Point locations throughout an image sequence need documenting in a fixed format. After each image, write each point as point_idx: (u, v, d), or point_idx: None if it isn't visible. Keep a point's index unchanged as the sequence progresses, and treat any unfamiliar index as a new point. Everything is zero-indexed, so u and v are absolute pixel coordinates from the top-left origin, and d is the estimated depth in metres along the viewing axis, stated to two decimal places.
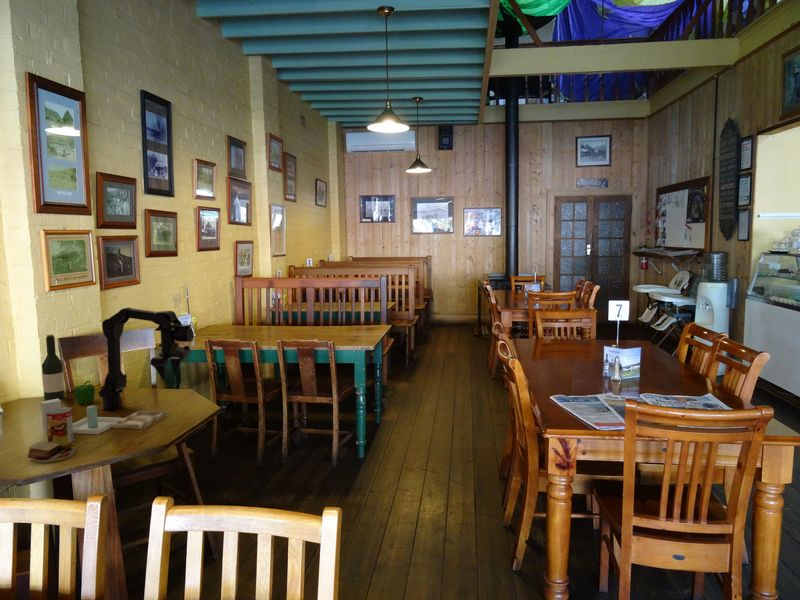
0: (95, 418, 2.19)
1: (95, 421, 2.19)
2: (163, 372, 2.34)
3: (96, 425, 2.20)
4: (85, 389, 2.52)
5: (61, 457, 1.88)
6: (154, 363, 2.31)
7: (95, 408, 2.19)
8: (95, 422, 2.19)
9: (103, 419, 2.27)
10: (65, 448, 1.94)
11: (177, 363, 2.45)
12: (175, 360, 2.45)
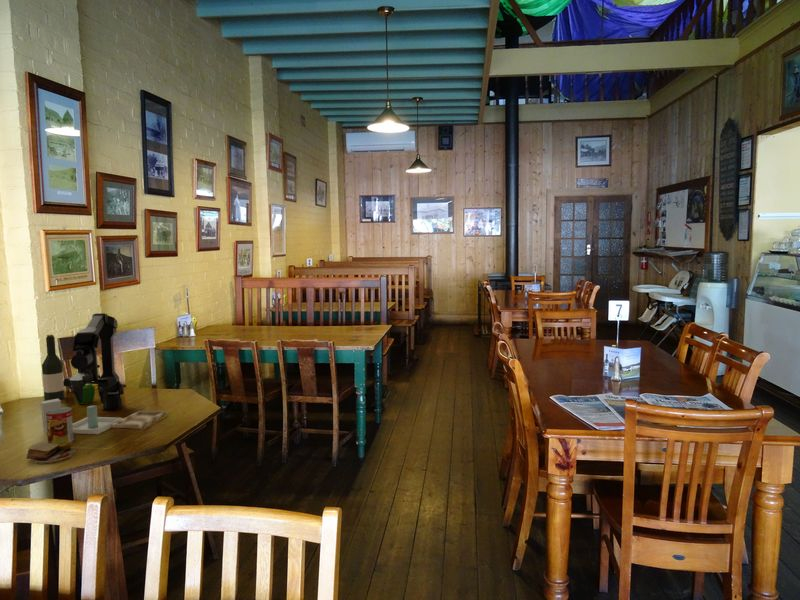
0: (95, 418, 2.19)
1: (95, 421, 2.19)
2: None
3: (96, 425, 2.20)
4: (85, 389, 2.52)
5: (61, 458, 1.87)
6: None
7: (95, 408, 2.19)
8: (95, 422, 2.19)
9: (103, 419, 2.27)
10: (64, 449, 1.94)
11: None
12: None
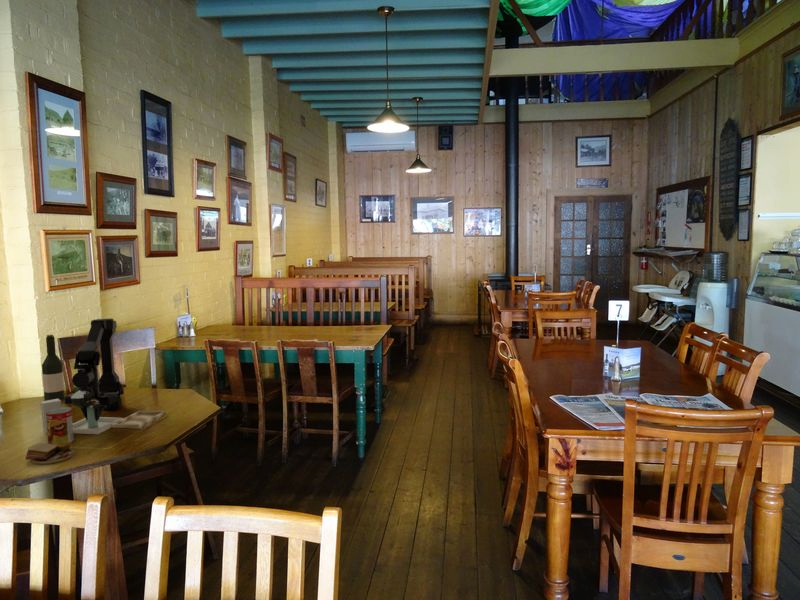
0: None
1: (95, 421, 2.19)
2: None
3: (96, 425, 2.20)
4: None
5: (61, 458, 1.87)
6: None
7: None
8: (95, 422, 2.19)
9: (103, 419, 2.27)
10: (63, 449, 1.93)
11: None
12: None
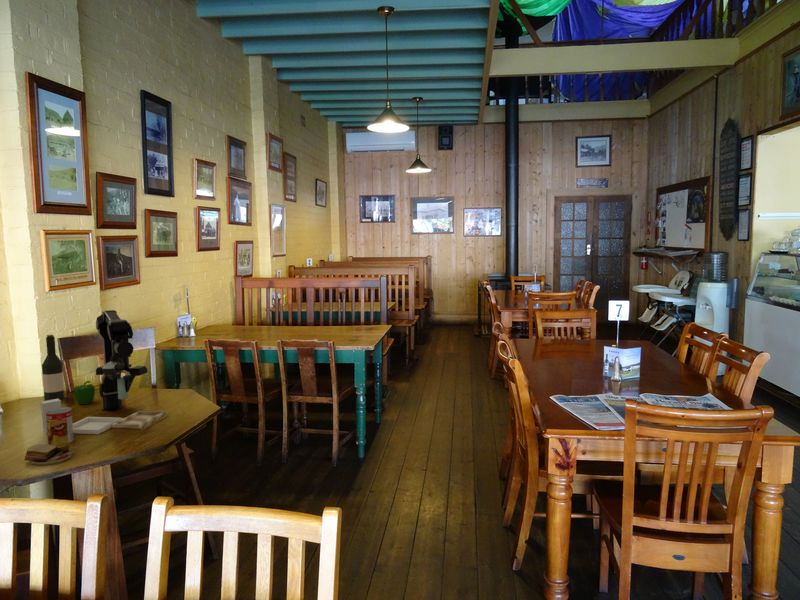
0: (125, 389, 2.23)
1: (125, 392, 2.23)
2: None
3: (126, 396, 2.23)
4: (85, 389, 2.52)
5: (60, 459, 1.86)
6: None
7: None
8: (125, 393, 2.23)
9: (103, 419, 2.27)
10: (62, 450, 1.92)
11: None
12: None
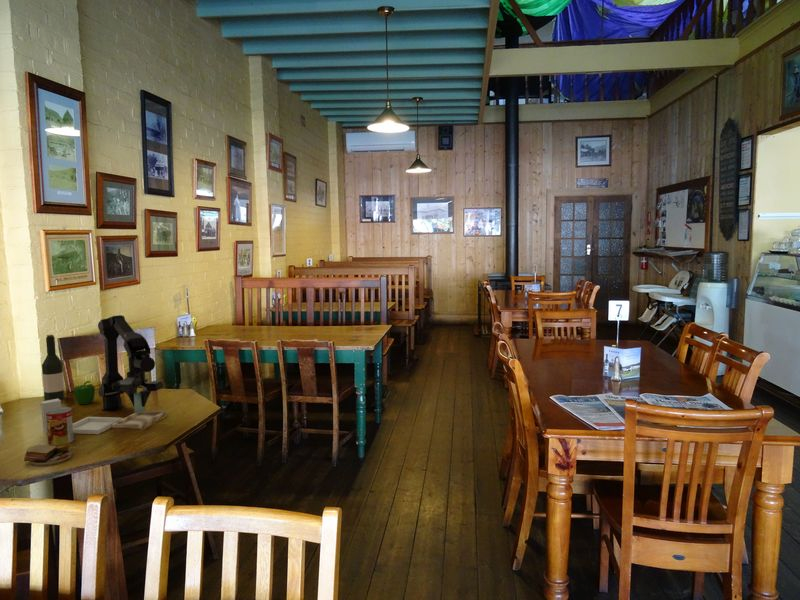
0: None
1: (142, 407, 2.26)
2: None
3: (142, 411, 2.27)
4: (85, 389, 2.52)
5: (60, 459, 1.86)
6: None
7: None
8: (142, 408, 2.26)
9: (103, 419, 2.27)
10: (62, 450, 1.92)
11: None
12: None
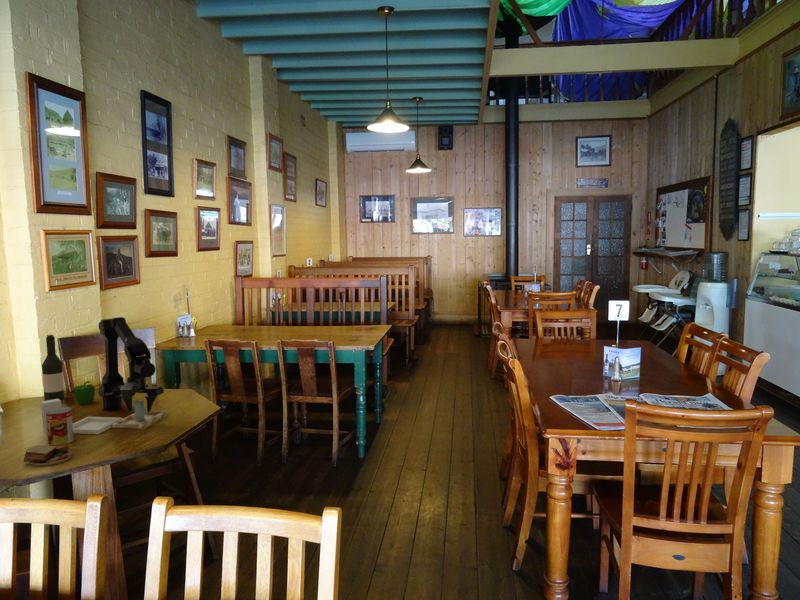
0: (142, 412, 2.26)
1: (142, 415, 2.26)
2: None
3: (143, 419, 2.27)
4: (85, 389, 2.52)
5: (60, 459, 1.86)
6: None
7: (142, 402, 2.26)
8: (142, 416, 2.26)
9: (103, 419, 2.27)
10: (61, 451, 1.92)
11: None
12: None
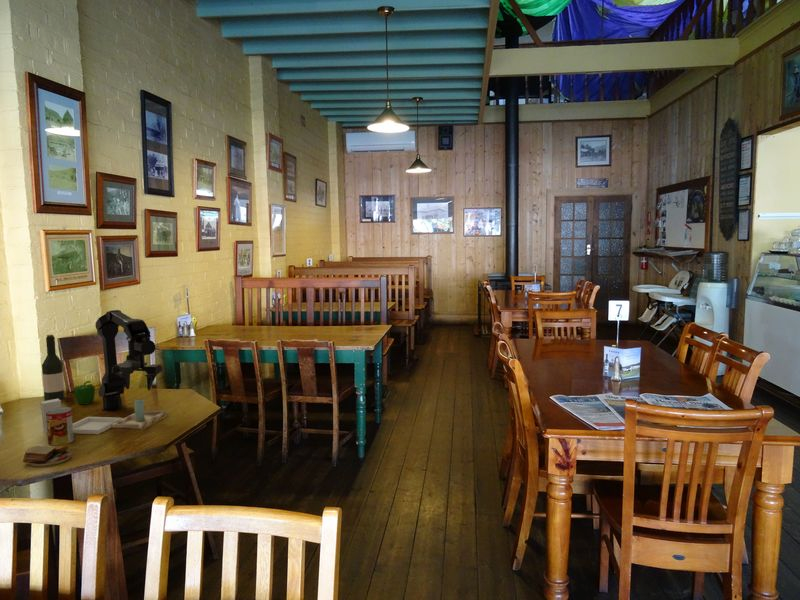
0: (142, 412, 2.26)
1: (142, 415, 2.26)
2: None
3: (143, 419, 2.27)
4: (85, 389, 2.52)
5: (60, 460, 1.85)
6: None
7: (142, 402, 2.26)
8: (142, 416, 2.26)
9: (103, 419, 2.27)
10: (60, 451, 1.91)
11: None
12: None
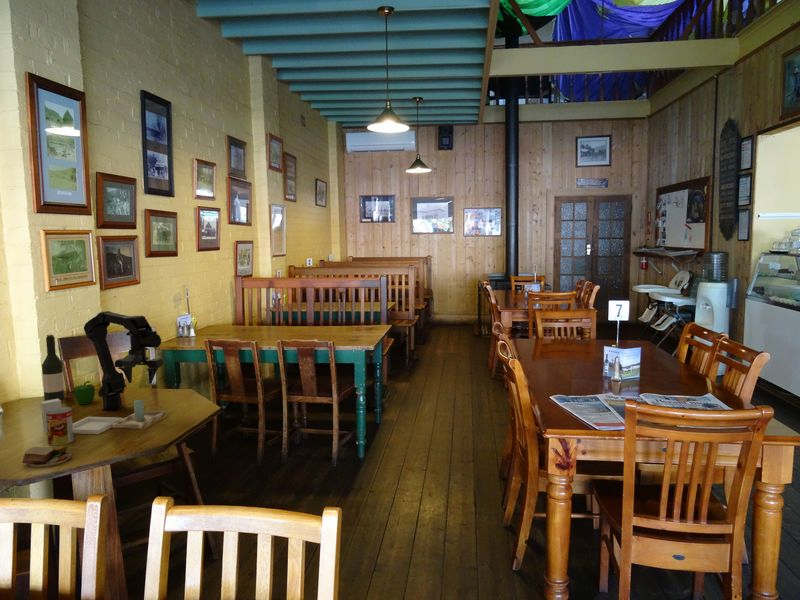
0: (142, 412, 2.26)
1: (142, 415, 2.26)
2: None
3: (143, 419, 2.27)
4: (85, 389, 2.52)
5: (60, 460, 1.85)
6: None
7: (142, 402, 2.26)
8: (142, 416, 2.26)
9: (103, 419, 2.27)
10: (60, 452, 1.91)
11: None
12: None
